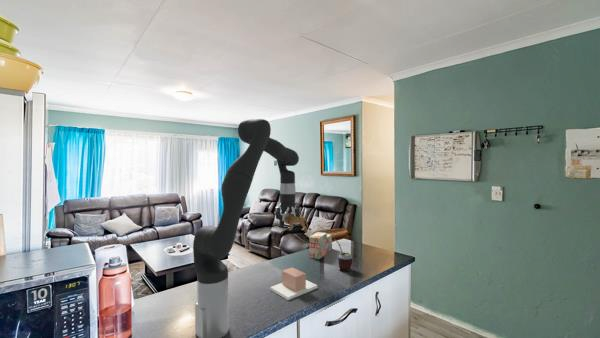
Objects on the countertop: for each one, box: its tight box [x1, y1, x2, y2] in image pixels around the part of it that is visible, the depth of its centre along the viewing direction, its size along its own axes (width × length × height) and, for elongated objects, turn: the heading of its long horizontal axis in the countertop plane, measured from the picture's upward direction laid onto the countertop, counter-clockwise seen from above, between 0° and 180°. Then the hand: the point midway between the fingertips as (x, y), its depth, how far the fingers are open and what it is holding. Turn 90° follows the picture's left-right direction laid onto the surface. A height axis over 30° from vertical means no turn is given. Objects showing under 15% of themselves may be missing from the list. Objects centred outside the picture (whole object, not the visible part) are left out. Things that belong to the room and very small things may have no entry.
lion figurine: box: [282, 213, 312, 233], centre depth 128 cm, size 15×5×9 cm, turn 75°
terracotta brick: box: [281, 267, 307, 292], centre depth 114 cm, size 6×9×6 cm, turn 41°
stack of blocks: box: [308, 231, 333, 260], centre depth 160 cm, size 21×6×12 cm, turn 153°
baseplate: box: [269, 279, 318, 301], centre depth 114 cm, size 16×12×1 cm
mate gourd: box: [334, 238, 353, 274], centre depth 134 cm, size 8×8×15 cm
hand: (287, 227), depth 129 cm, fingers closed on lion figurine, 6 cm apart
